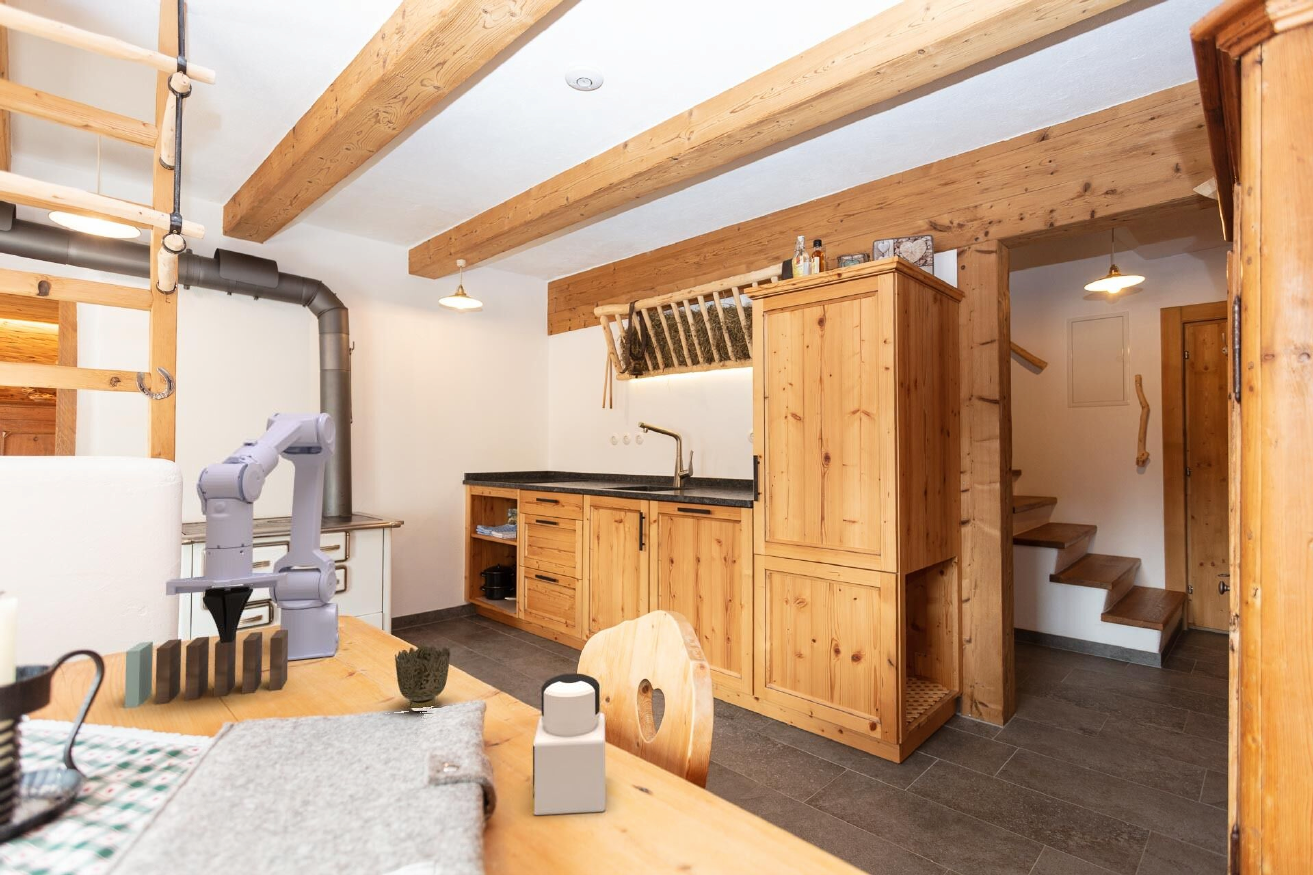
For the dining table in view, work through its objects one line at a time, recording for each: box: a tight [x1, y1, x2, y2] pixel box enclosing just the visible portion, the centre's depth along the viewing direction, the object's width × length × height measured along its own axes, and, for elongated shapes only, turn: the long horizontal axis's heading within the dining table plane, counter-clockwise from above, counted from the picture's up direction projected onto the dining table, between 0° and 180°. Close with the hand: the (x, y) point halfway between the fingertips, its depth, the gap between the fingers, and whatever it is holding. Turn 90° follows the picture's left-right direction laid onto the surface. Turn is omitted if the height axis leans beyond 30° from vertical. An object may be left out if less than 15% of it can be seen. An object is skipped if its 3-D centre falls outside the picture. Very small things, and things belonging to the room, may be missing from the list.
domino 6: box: [269, 629, 289, 692], centre depth 101 cm, size 2×5×8 cm, turn 21°
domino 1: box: [124, 641, 154, 709], centre depth 94 cm, size 2×5×8 cm, turn 21°
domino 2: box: [154, 638, 182, 705], centre depth 95 cm, size 2×5×8 cm, turn 21°
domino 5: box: [241, 631, 263, 695], centre depth 99 cm, size 2×5×8 cm, turn 21°
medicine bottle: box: [532, 673, 607, 816], centre depth 67 cm, size 7×7×12 cm
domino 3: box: [184, 636, 210, 702], centre depth 97 cm, size 2×5×8 cm, turn 21°
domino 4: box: [213, 636, 237, 699], centre depth 98 cm, size 2×5×8 cm, turn 21°
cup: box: [394, 644, 452, 709], centre depth 90 cm, size 8×7×8 cm
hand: (227, 641), depth 92 cm, fingers closed
